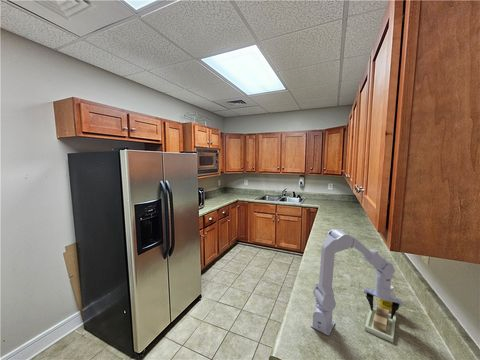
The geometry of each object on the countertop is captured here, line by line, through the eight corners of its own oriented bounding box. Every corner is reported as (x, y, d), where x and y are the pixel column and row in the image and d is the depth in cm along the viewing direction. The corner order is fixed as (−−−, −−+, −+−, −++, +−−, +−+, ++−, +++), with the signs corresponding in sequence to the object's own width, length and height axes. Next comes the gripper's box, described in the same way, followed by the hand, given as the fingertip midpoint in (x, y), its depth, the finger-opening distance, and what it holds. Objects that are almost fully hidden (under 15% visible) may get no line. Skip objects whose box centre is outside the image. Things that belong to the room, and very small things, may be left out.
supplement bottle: (380, 313, 99) (381, 288, 98) (376, 304, 105) (377, 280, 104) (397, 316, 97) (398, 291, 96) (392, 307, 103) (393, 283, 102)
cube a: (386, 328, 90) (387, 318, 89) (385, 335, 86) (386, 325, 86) (374, 323, 92) (374, 314, 92) (373, 329, 89) (373, 320, 89)
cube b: (388, 319, 95) (388, 310, 94) (387, 325, 91) (388, 315, 91) (376, 314, 98) (377, 306, 97) (375, 320, 94) (376, 311, 94)
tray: (393, 343, 83) (393, 338, 83) (364, 330, 89) (364, 326, 89) (395, 320, 95) (396, 316, 95) (370, 310, 101) (370, 306, 101)
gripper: (403, 287, 92) (402, 315, 93) (366, 276, 101) (365, 302, 102) (402, 295, 86) (401, 325, 87) (363, 282, 96) (362, 309, 97)
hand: (381, 313), depth 94 cm, fingers open, 7 cm apart
